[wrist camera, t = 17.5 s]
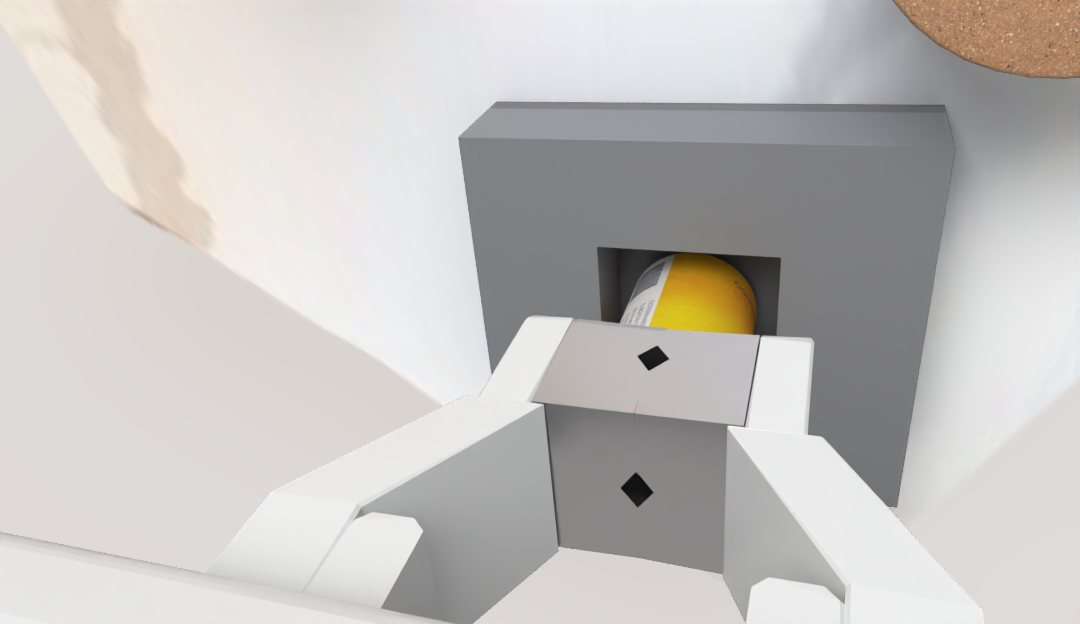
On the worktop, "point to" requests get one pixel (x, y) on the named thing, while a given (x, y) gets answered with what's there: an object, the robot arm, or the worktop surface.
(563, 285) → the can dock
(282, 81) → the worktop surface
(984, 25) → the lidded bowl
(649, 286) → the beer can
